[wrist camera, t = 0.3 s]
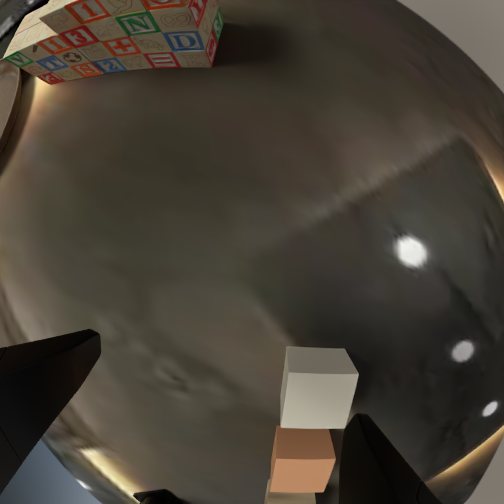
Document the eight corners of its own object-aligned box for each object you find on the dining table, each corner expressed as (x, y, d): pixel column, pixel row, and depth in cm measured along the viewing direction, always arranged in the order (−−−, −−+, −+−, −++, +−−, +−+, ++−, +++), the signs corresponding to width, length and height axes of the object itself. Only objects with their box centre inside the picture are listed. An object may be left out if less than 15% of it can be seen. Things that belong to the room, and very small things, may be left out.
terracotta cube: (318, 459, 24) (323, 492, 19) (271, 458, 24) (269, 491, 19) (328, 426, 24) (335, 458, 19) (277, 425, 24) (276, 458, 19)
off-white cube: (334, 396, 23) (344, 428, 18) (280, 395, 24) (280, 427, 19) (344, 348, 23) (358, 374, 18) (286, 345, 23) (288, 372, 18)
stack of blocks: (49, 86, 24) (-17, 49, 12) (66, 46, 24) (11, 3, 11) (213, 68, 22) (174, -24, 10) (226, 22, 22) (200, -66, 10)
